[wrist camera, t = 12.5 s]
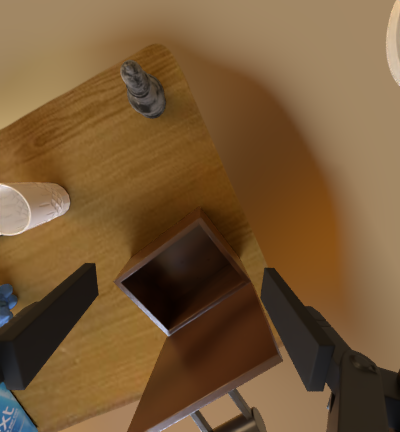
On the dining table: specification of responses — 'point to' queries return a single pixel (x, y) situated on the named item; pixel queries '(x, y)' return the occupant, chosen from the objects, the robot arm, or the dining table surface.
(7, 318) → the grapes
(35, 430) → the soda pack
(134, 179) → the dining table surface
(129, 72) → the grey chess piece
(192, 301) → the chest
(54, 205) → the white cup
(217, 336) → the brown wooden lid
